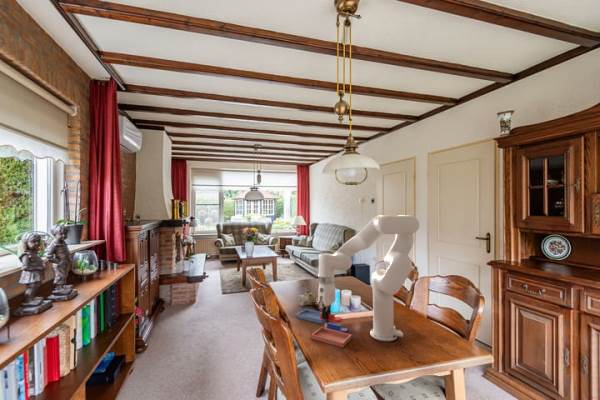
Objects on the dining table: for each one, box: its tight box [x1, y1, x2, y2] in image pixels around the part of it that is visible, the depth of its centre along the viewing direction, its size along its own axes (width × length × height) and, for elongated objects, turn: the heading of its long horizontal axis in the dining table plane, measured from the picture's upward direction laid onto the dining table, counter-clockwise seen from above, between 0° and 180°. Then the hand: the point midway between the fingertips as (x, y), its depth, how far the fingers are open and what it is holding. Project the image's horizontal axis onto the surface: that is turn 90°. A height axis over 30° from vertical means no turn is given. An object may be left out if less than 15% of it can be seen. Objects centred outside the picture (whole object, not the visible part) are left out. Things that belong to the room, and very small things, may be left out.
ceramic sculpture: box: [297, 291, 318, 307], centre depth 179 cm, size 11×9×15 cm
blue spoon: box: [326, 321, 349, 334], centre depth 142 cm, size 11×4×3 cm, turn 58°
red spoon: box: [320, 313, 343, 324], centre depth 133 cm, size 11×4×3 cm, turn 58°
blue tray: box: [295, 308, 327, 324], centre depth 159 cm, size 16×10×2 cm, turn 58°
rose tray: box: [310, 326, 353, 348], centre depth 133 cm, size 16×10×2 cm, turn 58°
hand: (326, 318), depth 134 cm, fingers closed on red spoon, 1 cm apart
